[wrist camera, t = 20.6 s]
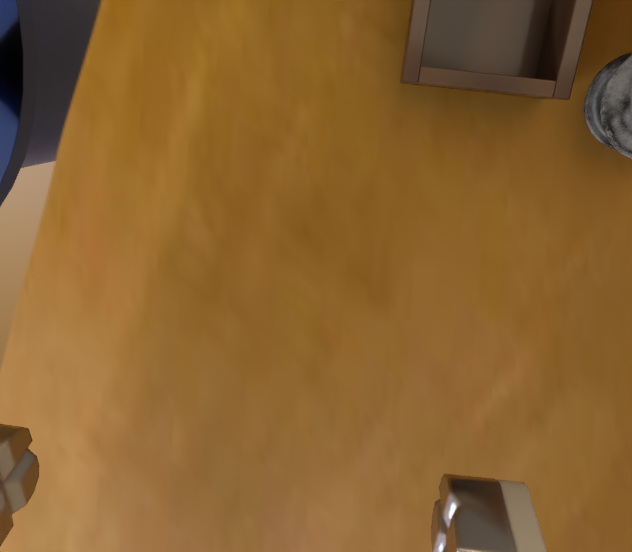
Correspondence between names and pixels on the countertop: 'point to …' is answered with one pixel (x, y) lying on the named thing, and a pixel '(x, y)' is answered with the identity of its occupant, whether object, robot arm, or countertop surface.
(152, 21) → the countertop surface
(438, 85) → the wooden compartment tray
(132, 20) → the countertop surface
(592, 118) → the grey stacked stone piece
